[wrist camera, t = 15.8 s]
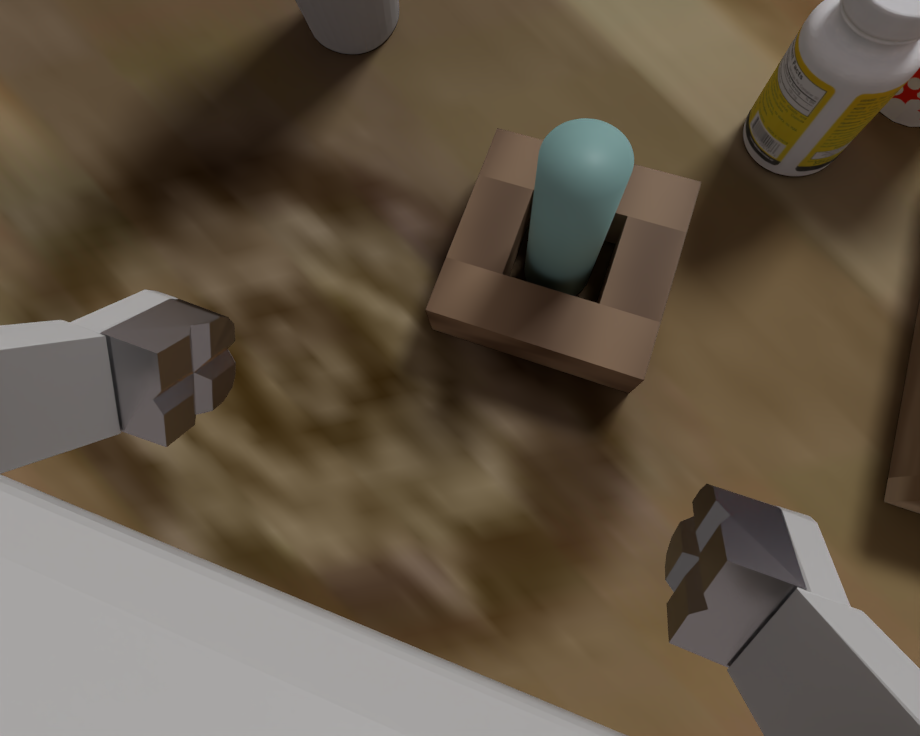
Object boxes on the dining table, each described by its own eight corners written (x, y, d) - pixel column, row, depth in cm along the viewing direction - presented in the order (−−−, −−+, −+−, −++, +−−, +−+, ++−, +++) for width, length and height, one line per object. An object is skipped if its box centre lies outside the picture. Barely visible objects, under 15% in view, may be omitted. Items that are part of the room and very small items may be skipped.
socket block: (432, 329, 30) (425, 309, 27) (497, 162, 32) (497, 128, 30) (629, 393, 28) (644, 379, 26) (682, 213, 31) (701, 181, 28)
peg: (515, 289, 30) (525, 186, 21) (535, 233, 31) (554, 108, 21) (578, 308, 30) (619, 212, 20) (597, 251, 31) (645, 132, 21)
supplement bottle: (847, 114, 32) (996, -54, 22) (823, 192, 31) (970, 49, 21) (754, 88, 33) (859, -85, 23) (727, 162, 31) (826, 12, 22)
